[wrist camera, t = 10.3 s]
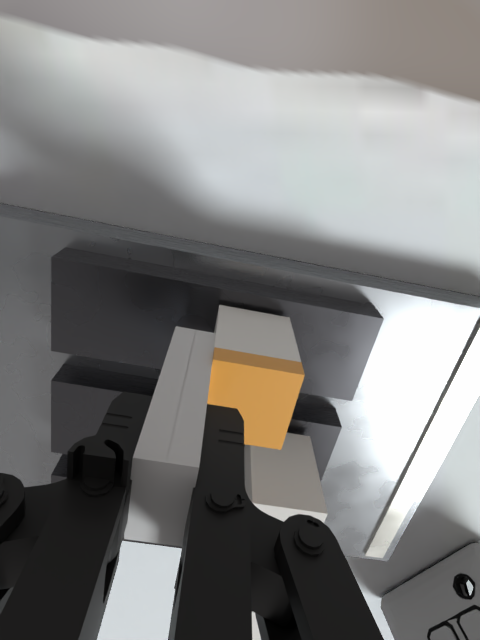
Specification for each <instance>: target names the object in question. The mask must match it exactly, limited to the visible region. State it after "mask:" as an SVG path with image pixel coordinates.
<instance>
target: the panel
mask: <svg viewBox="0 0 480 640" xmlns="http://www.w3.org/2000/svg"><path fill="white" fill-rule="evenodd" d="M219 305H224V306H229V307H235V308H240V309H246V310H251V311H257V312H262V313H268V314H273V315H279V316H284V317H290V321H291V325H292V328H293V332H294V336H295V340H296V344H297V347H298V351H299V355H300V359H301V363H302V366H303V370H304V374H305V376H304V379H303V383H302V386H301V389H300V392H299V395H298V398H297V401H296V405H295V408H294V411H293V414H292V417H291V420H290V424H289V427H288V430H287V433H293V434H299V435H305V436H310V438H311V442H312V447H313V451H314V456H315V460H316V464H317V469H318V473H319V478H320V482H321V486H322V491H323V495H324V499H325V504H326V508H327V513H328V514H327V517H326V519H325V522H324V524H325V525H327V526H328V527H329V528H330V530H331V531H332V533H333V534H334V536H335V537H336V539H337V541H338V543H339V545H340V547H341V550H342V552H343V554H344V556H351V557H359V558H366V559H374V560H381V561H388V560H389V559H390V557H391V555H392V553H393V551H394V549H395V548H396V546H397V544H398V542H399V540H400V538H401V537H402V535H403V533H404V531H405V529H406V527H407V526H408V524H409V522H410V520H411V518H412V516H413V515H414V513H415V511H416V509H417V507H418V505H419V504H420V502H421V500H422V498H423V496H424V494H425V493H426V491H427V489H428V487H429V485H430V483H431V482H432V480H433V478H434V476H435V474H436V472H437V471H438V469H439V467H440V465H441V463H442V461H443V460H444V458H445V456H446V454H447V452H448V450H449V449H450V447H451V445H452V443H453V441H454V439H455V438H456V436H457V434H458V432H459V430H460V429H461V427H462V425H463V423H464V421H465V419H466V418H467V416H468V414H469V412H470V410H471V408H472V407H473V405H474V403H475V401H476V399H477V397H478V396H479V394H480V297H479V296H474V295H469V294H463V293H458V292H453V291H448V290H443V289H438V288H433V287H427V286H422V285H417V284H412V283H407V282H402V281H397V280H391V279H386V278H381V277H376V276H371V275H366V274H361V273H356V272H350V271H345V270H340V269H335V268H330V267H325V266H320V265H314V264H309V263H304V262H299V261H294V260H289V259H284V258H278V257H273V256H268V255H263V254H258V253H253V252H248V251H243V250H237V249H232V248H227V247H222V246H217V245H212V244H207V243H201V242H196V241H191V240H186V239H181V238H176V237H171V236H165V235H160V234H155V233H150V232H145V231H140V230H135V229H130V228H124V227H119V226H114V225H109V224H104V223H99V222H94V221H88V220H83V219H78V218H73V217H68V216H63V215H58V214H52V213H47V212H42V211H37V210H32V209H27V208H22V207H17V206H11V205H6V204H1V203H0V473H5V474H11V475H13V476H15V477H17V478H18V479H20V480H21V482H22V484H23V486H24V487H31V486H39V485H47V484H51V483H56V482H58V481H61V480H63V479H66V478H67V454H68V450H69V449H70V448H71V447H72V446H73V445H74V443H76V442H78V441H80V440H81V439H83V438H86V437H90V436H94V435H96V434H97V432H98V430H99V427H100V425H101V424H102V421H103V419H104V417H105V415H106V413H107V410H108V408H109V406H110V404H111V402H112V400H114V399H115V398H116V397H117V396H119V395H120V394H121V393H123V392H130V393H136V394H143V395H149V396H153V394H154V391H155V388H156V385H157V382H158V379H159V376H160V373H161V370H162V367H163V364H164V361H165V358H166V355H167V352H168V349H169V346H170V343H171V340H172V336H173V333H174V330H175V327H176V326H178V327H183V328H189V329H195V330H200V331H206V332H212V333H214V330H215V324H216V319H217V314H218V309H219ZM244 447H245V444H244ZM122 541H130V542H138V543H145V544H153V545H161V546H168V547H176V548H182V547H180V546H172V545H165V544H157V543H150V542H142V541H135V540H127V539H124V536H123V539H122Z"/></svg>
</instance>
